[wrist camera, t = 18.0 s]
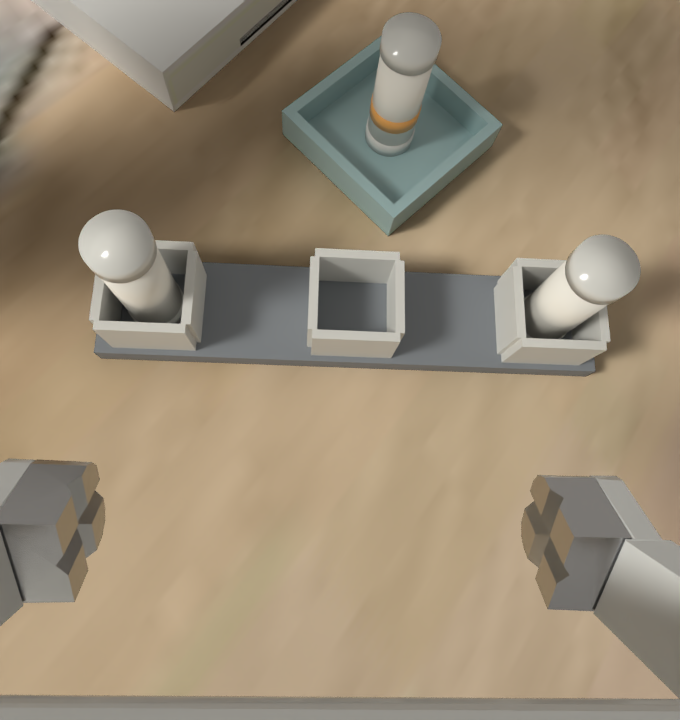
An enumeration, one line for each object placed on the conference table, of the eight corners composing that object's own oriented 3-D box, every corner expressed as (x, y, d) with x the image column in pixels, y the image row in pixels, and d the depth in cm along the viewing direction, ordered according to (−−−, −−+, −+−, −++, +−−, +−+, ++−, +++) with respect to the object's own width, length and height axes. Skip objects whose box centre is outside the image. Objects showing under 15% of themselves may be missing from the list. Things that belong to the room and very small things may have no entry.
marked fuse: (355, 133, 46) (369, 33, 37) (388, 107, 47) (411, 2, 38) (388, 165, 46) (412, 72, 36) (421, 137, 47) (453, 39, 37)
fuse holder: (585, 376, 43) (625, 356, 38) (101, 358, 41) (71, 334, 36) (577, 287, 45) (614, 257, 40) (113, 266, 43) (86, 231, 38)
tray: (282, 134, 47) (281, 110, 44) (388, 53, 49) (393, 26, 47) (388, 236, 45) (393, 218, 42) (491, 146, 48) (502, 124, 45)
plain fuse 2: (501, 321, 42) (560, 263, 32) (535, 288, 43) (602, 222, 33) (539, 358, 42) (612, 310, 32) (573, 324, 42) (653, 267, 33)
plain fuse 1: (119, 304, 41) (63, 239, 31) (162, 270, 41) (121, 196, 32) (154, 343, 40) (108, 288, 30) (198, 308, 41) (166, 243, 31)
